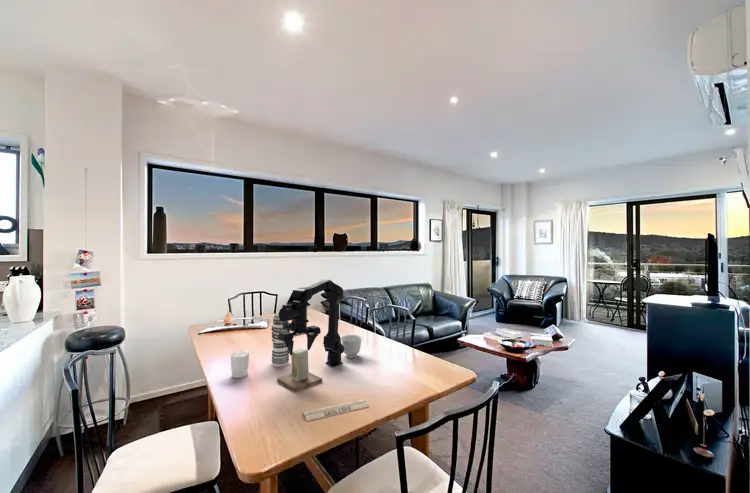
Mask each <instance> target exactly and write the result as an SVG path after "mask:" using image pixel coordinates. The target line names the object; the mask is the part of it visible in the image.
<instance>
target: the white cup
mask: <svg viewBox="0 0 750 493" xmlns="http://www.w3.org/2000/svg"><path fill="white" fill-rule="evenodd" d="M249 364H250V352H249V351H246V350H239V351H238V350H237V351H234V352H232V353H230V369H231V377H232V378H234V379H240V378H244V377H247V375H248V374H249V373H248V372H249Z"/></svg>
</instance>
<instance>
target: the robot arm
mask: <svg viewBox="0 0 750 493" xmlns="http://www.w3.org/2000/svg"><path fill="white" fill-rule="evenodd" d="M320 292H324V293H325V294H326V300H327V302H328V305H329V306H328V325H327V328H328V329H327V333H326V334H325V335H324V336H323V341H322V344H323V347H324V351H325V352H326V353H327V357H326V358H327V359H326V362H325V364H326V365H329V366H331V367H337V366H339V365H343V364H344V362H343V361H342V354H343V353H344V349H345V347H344V346H343V345H342V340H341V336H340V334H339V314H340V313H339V312H340V303H341V302H342V300H343V297H344V289H343V287H342V286H340V285H338V284H337V283H335V282H333V281H332V280H330V279H321V280H320V281H318V282H316V283H313V284H311V285H309V286H306V287H298V288H293V290H292V293H291V294H290V295H289V298H288V300H287V302H286V304H282V305H281V308H280V309H279V311H278V313H277V314H278V315H279V319H280V320H281V321H283V322H284V323H283V329H284V330H285V329H287V331H285V332H280V333H279V335H278V339H279V340H281V341H283V342H285V344H286V346H287V348H288V352H289V354H288V355H289V356H291V355H292V352H293V351H294V344H295V342H294V340H293V339H294V337H298V336H301V335H303V336H304V335H306V338H307V339H306V341H307V342H306V346H307V347H306V350H308V351H310V350H311V349H312V346H313V344H314V342H315V340H316V338H317V337H318V336H319V335H320V334H321V331H322V330H321V329H322V328H320V326H316V325H310V326H307V325H308V324H307V323H309V319H308V307H311V303H310V302H309V301H310V300H311V299H312V298H313V296H314V295H316V294H319V293H320ZM286 321H288V322H289V321H291V322H290V323H288V322H286ZM288 331H290V332H288Z"/></svg>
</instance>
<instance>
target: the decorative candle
mask: <svg viewBox="0 0 750 493" xmlns="http://www.w3.org/2000/svg"><path fill="white" fill-rule="evenodd" d="M278 314H279V313H276V314H275V315H274V316H273V317H272V325H271V329H270V330H271V337H272V338H271V341H272V350H271V355H272V356H271V365H272V366H274V367H284V366H287V365H289V364H290V354H289V351H288V348H287V346H286V344H285V342H283V341H281V340H279V339H278V335H279V333H280V332H285V331H287V329H285V330H284V329H283V323H284V322H283V321H281V320H280V319H279V315H278ZM286 322H288V323H289V321H286ZM288 332H291V331H288Z"/></svg>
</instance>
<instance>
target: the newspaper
mask: <svg viewBox="0 0 750 493" xmlns="http://www.w3.org/2000/svg"><path fill="white" fill-rule="evenodd" d="M369 407H370V406H369V404H368V402H367V401H366V400H365V399H363V398H362V399H357V400H353V401H349V402H348V401H347V402H344V403H340V404H335V405H330V406H327V407H322V408H317V409H312V410H308V411H304V412H302V415H304V416H305V419H306V422H307V423H308V422H311V421H312V422H313V421H317V420H319V419H324V418H329V417H332V416H336V415H337V416H338V415H341V414H347V413H349V412H350V413H351V412H355V411H358V410H363V409H368V408H369Z"/></svg>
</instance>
